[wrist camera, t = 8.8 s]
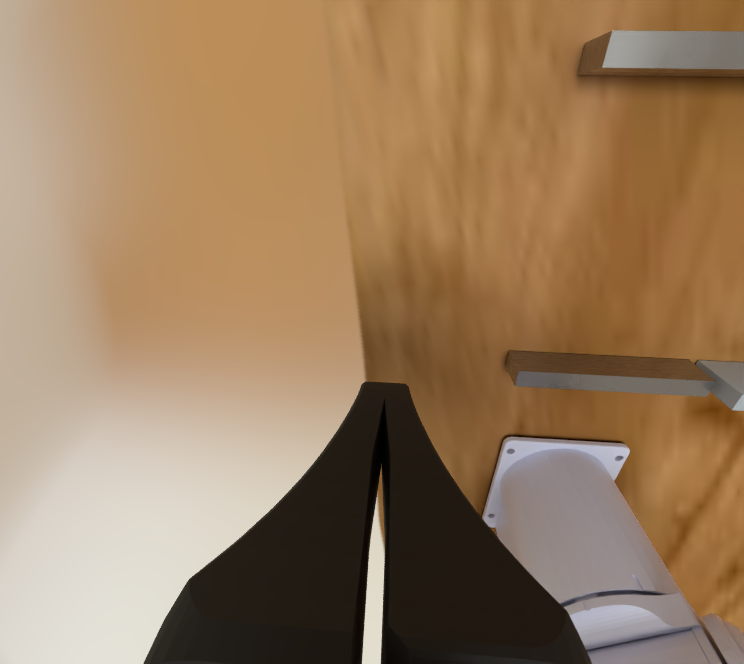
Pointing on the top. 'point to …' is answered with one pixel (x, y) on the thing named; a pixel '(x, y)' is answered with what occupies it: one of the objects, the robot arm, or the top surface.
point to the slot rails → (636, 58)
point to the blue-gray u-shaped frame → (726, 381)
